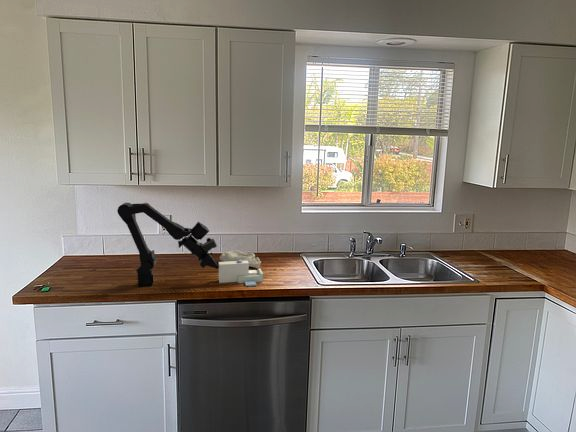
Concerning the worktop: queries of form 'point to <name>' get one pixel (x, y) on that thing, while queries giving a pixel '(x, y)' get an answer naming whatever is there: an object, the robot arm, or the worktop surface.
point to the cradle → (251, 279)
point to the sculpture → (240, 257)
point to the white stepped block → (234, 270)
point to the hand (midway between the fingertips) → (218, 267)
